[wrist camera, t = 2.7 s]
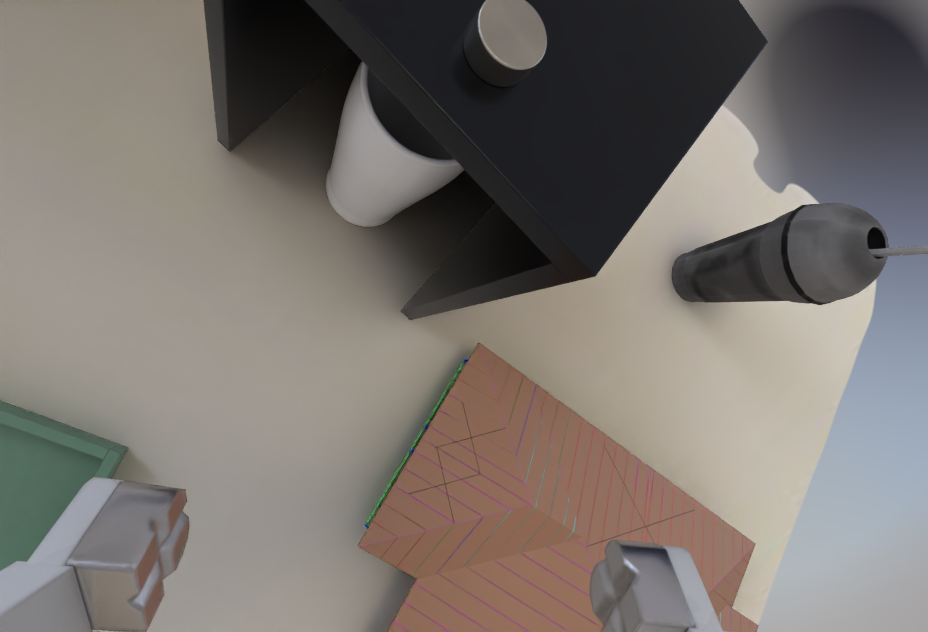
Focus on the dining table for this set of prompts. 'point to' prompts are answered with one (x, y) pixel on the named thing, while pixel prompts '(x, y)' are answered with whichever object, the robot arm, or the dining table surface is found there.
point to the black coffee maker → (508, 109)
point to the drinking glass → (382, 156)
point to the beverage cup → (791, 259)
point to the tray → (43, 476)
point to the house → (530, 514)
